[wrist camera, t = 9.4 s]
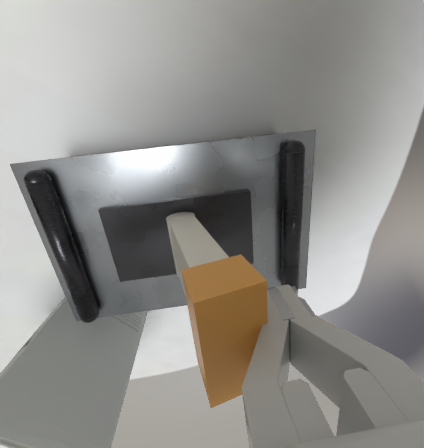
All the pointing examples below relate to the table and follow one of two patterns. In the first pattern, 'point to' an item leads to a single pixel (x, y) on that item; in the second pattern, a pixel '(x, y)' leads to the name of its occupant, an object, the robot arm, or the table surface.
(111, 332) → the supplement box
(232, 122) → the table surface
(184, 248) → the lever
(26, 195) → the box
